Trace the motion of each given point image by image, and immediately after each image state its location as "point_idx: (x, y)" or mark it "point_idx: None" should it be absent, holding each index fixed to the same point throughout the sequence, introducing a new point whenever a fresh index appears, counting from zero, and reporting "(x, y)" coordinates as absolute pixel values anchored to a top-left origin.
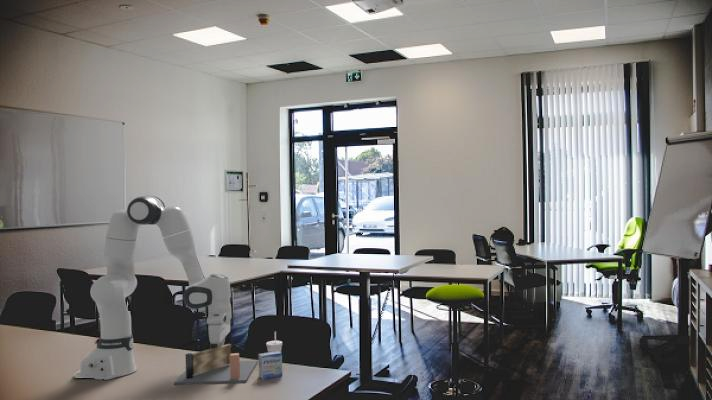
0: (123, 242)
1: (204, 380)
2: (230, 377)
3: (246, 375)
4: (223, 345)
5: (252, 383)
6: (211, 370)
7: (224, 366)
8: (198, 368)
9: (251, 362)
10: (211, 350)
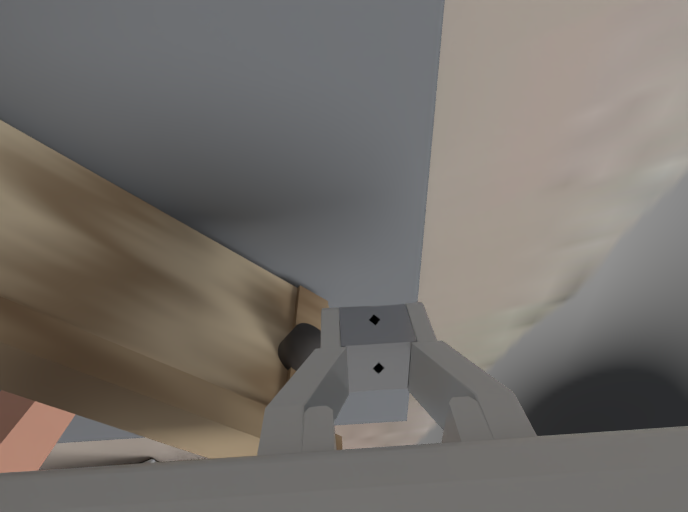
0: None
1: None
2: (1, 390)
3: (111, 431)
4: (257, 441)
5: None
6: (153, 204)
7: (278, 276)
8: None
9: (368, 402)
10: None
